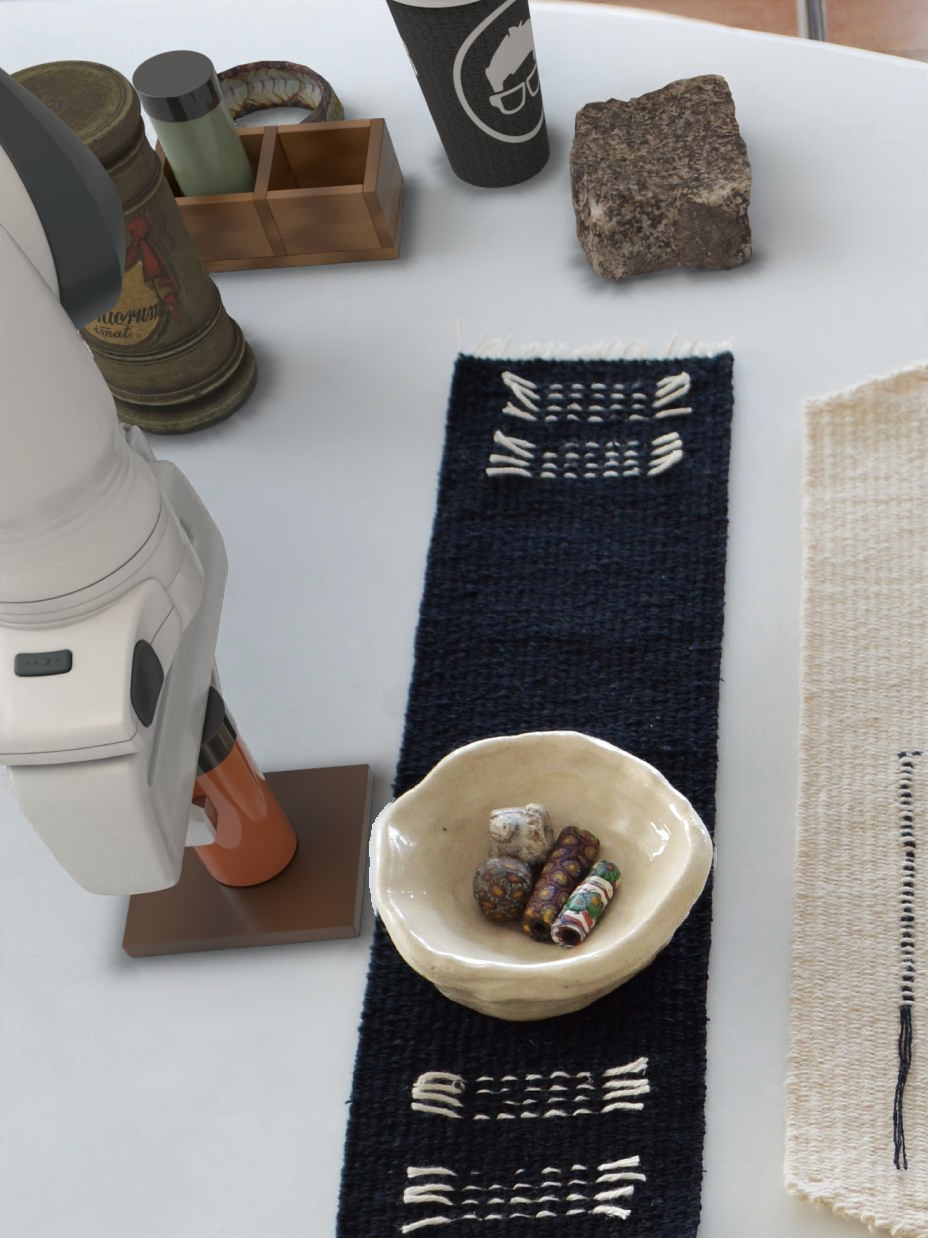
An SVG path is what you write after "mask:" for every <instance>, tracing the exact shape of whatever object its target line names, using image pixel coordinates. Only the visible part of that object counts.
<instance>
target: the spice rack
mask: <svg viewBox="0 0 928 1238" xmlns="http://www.w3.org/2000/svg"><path fill="white" fill-rule="evenodd" d="M236 128H237V131H238V134H239V136H240V139H241V141H242V144H243V146H244V149H245V151H246V154H247V156H248V159H249V161H250V164H251V167H252V169H253V172H254V174H255V177H256V184H255V190H254V193H253V192H249V193H235V194H221V195H207V196H193V197H183V194H182V192H181V190H180V187H179V185H178V183H177V181H176V178H175V176H174V174H173V171H172V169H171V167H170V164H169V162H168V160H167V158H166V155H165V153H164V151H163V148H162V146H161V144H160V141H159V139H158V137H157V136H156V143H155V146H154V150H155V152H156V153H157V154H158V155H159V157H160V159H161V161H162V165H163V173H164V175H165V177H166V179H167V181H168V184H169V186H170V188H171V190H172V193H173V195H174V197H175V200H176V202H177V204H178V206H179V209H180V211H181V214H182V216H183V219H184V221H185V223H186V226H187V228H188V230H189V233H190V235H191V237H192V239H193V241H194V244H195V246H196V248H197V251H198V253H199V256H200V258H201V260H202V262H203V264H204V266H205V268H206V271H207V273H208V274H209V273H221V272H233V271H235V272H236V271H248V270H262V269H276V268H287V267H301V266H315V265H330V264H343V263H356V262H357V263H358V262H370V261H383V260H385V261H386V260H396V259H399V257H400V256H399V254H400V245H401V236H402V226H403V215H404V208H405V207H404V206H405V195H406V187H407V186H406V185H407V184H406V181H405V179H404V175H403V172H402V169H401V166H400V163H399V160H398V157H397V153H396V150H395V147H394V144H393V140H392V137H391V135H390V131H389V128H388V125H387V121H386V119H385V117H373V118H362V119H347V120H346V119H345V120H344V121H332V122H317V123H303V124H299V123H291V124H279V125H278V124H273V125H259V126H257V125H256V126H244V127H236Z"/></svg>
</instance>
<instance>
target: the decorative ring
mask: <svg viewBox="0 0 928 1238" xmlns="http://www.w3.org/2000/svg"><path fill="white" fill-rule="evenodd" d="M217 75H218V78H219V81H220V83H221V86H222V88H223V95H224V98H225V100H226V103H227V106H228V108H229V111H230V113H231V116H232V118H233V121H234V122H235V121H236V120H239V119H241V118H244V117H246V116H249V115H251V114H253V113H256V112H260V111H265V110H269V109H274V108H301V109H305V110H308V111H312V112H311V114H309V115H308V116H306V117H304V119H302V120H301V121H300V122H298V124H303V123H317V122H332V121H345V110H344V105H343V104H342V102H341V101H340V99H339V96H338V95H337V93H336V91H335V90H334V88H333V87H332V85H331V83H330V82H329V81H328V80H326V79H325V78H324V76H322V75H321V74H320V73H318V72H316V71H315V70H313V69H312V68H311V67H309V66H307V65H304V64H300V63H297V62H292V61H288V60H259V61H254V62H248V63H247V62H246V63H242V64H238V65H235V66H232V67H231V68H228V69H225V70H223V71H221V72H218V73H217Z"/></svg>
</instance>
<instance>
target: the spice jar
mask: <svg viewBox="0 0 928 1238" xmlns="http://www.w3.org/2000/svg"><path fill="white" fill-rule="evenodd" d="M222 697H223V695H222V696H221V695H220V693H219V692H218V691H217V690H216V689H215V688H214V687H212V686H211V685H210V688H209V694H208V701H207V707H206V713H205V720H204V726H203V733H202V739H201V746H200V752H199V758H198V765H197V771H196V778H195V784H194V790H193V796H192V798H193V797H199V796H208V798H209V800H210V801H211V803H212V805H213V808H214V810H216V811H217V813H218V822H217V831H216V836H215V842H214V843H213V844H210V845H200V846H192V848H193V849H194V851H195V852H196V854H197V855H198V857H199V858H200V860H201V861H202V863H203V865H204V866H205V868H206V869H207V871H208V872H209V873H210V875H211V876H212V877H213V878H215V879H216V880H218V881H220V882H222V883H224V884H227V885H232V886H250V885H255V884H259V883H261V882H264V881H266V880H269V879H270V878H272V877H274V876H275V875H277V874H278V873H279V872H281V871H282V870H283V869H284V868H285V867H286V866H287V865H288V863H289V862H290V860H291V859H292V857H293V855H294V852H295V849H296V841H297V839H296V834H295V831H294V829H293V827H292V825H291V823H290V822H289V820H288V818H287V816H286V815H285V813H284V811H283V809H282V807H281V806H280V804H279V802H278V800H277V799H276V797H275V795H274V793H273V791H272V790H271V788H270V786H269V784H268V783H267V781H266V779H265V777H264V775H263V774H262V773H263V772H262V770H261V768H260V767H259V765H258V763H257V761H256V759H255V758H254V756H253V754H252V753H251V751H250V748H249V747H248V745H247V744H246V741H245V740H244V738H243V737H242V735H241V733H240V731H239V729H238V725H237V722H236V719H235V717H234V716H233V714H232V712H231V710H230V708H229V707H228V704H227V703H226V701H225V700H223V699H224V697H223V698H222ZM224 701H225V702H224ZM228 708H229V709H228Z"/></svg>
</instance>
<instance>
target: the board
mask: <svg viewBox="0 0 928 1238" xmlns="http://www.w3.org/2000/svg"><path fill="white" fill-rule="evenodd" d="M262 774H263V775H264V777H265V779H266V781H267V783H268V784H269V786H270V788H271V790H272V791H273V793H274V795H275V797H276V799H277V800H278V802H279V804H280V806H281V807H282V809H283V811H284V813H285V815H286V816H287V818H288V820H289V822H290V823H291V825H292V827H293V829H294V831H295V834H296V839H297V841H296V849H295V852H294V855H293V857H292V859H291V860H290V862H289V863H288V865H287V866H286V867H285V868H284V869H283V870H282V871H281V872H279V873H278V874H277V875H275V876H274V877H272V878H270V879H269V880H266V881H264V882H261V883H259V884H255V885H250V886H232V885H227V884H224V883H222V882H220V881H218V880H216V879H215V878H213V877H212V876H211V875H210V873H209V872H208V871H207V869H206V868H205V866H204V865H203V863H202V861H201V860H200V858H199V857H198V855H197V854H196V852H195V851H194V849H193V848H192V846H188V847H186V846H185V848H184V855H183V861H182V869H181V876H180V879H179V881H178V883H177V884H176V885H174V886H173V887H170V888H167V889H163V890H159V891H154V892H148V893H141V894H132V895H129V902H128V908H127V915H126V920H125V925H124V929H123V930H124V931H123V938H122V942H121V944H122V945H121V948H122V949H123V950H124V952H125V953H126V954H127V956H128V957H129V958H138V957H139V958H140V957H148V956H149V957H150V956H160V955H172V954H183V953H194V952H205V951H207V952H208V951H215V950H227V949H237V948H238V949H239V948H251V947H260V946H261V947H263V946H272V945H274V946H275V945H283V944H285V945H286V944H293V943H295V944H296V943H305V942H306V943H307V942H317V941H319V942H320V941H329V940H339V939H340V940H341V939H348V938H349V939H351V938H359V936H360V929H361V920H362V919H361V918H362V908H363V896H364V888H365V887H364V885H365V876H366V875H365V874H366V865H367V854H368V853H367V852H368V844H369V843H368V842H369V834H370V833H369V832H370V823H371V809H372V799H373V790H374V789H373V788H374V779H375V775H374V773H373V771H372V769H371V766H370V764H369V763H359V764H348V765H337V766H324V767H313V768H300V769H290V770H289V769H288V770H279V771H278V770H277V771H266V772H265V771H264V772H262Z"/></svg>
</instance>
